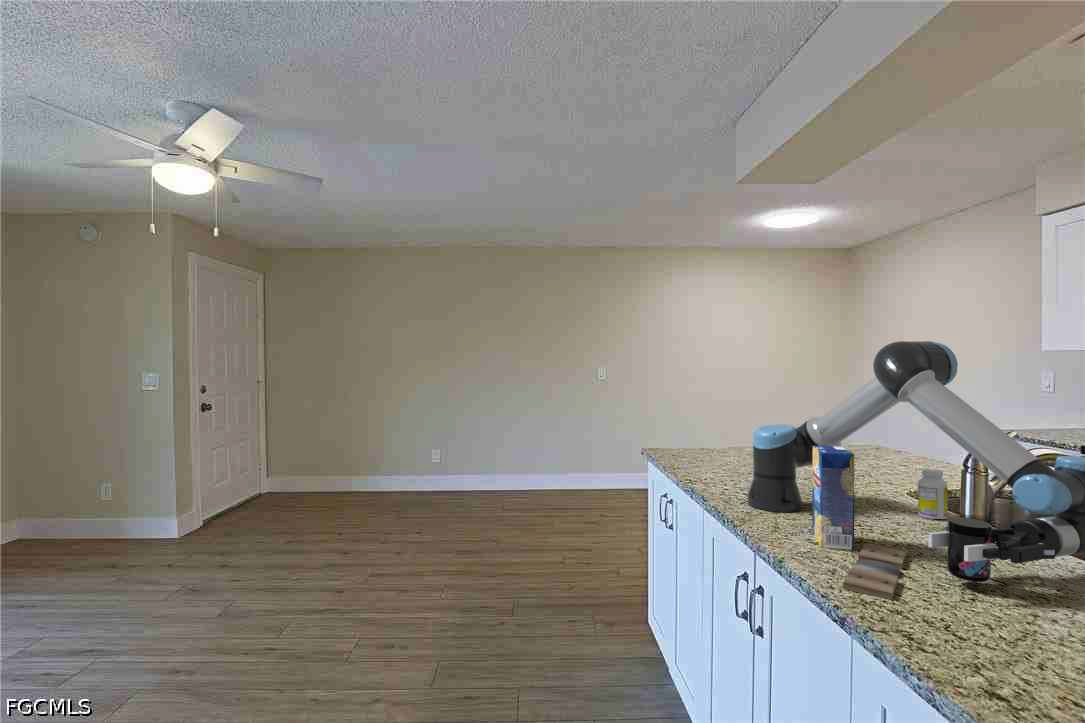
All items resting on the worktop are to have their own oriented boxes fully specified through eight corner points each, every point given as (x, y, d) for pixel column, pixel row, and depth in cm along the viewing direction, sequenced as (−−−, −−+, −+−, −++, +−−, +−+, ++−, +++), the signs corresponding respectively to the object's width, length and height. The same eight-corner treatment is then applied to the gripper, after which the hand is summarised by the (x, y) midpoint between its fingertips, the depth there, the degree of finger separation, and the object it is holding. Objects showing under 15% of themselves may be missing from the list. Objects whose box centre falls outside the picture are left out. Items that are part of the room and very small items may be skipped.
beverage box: (842, 535, 139) (842, 446, 138) (854, 550, 128) (854, 454, 128) (812, 533, 140) (812, 445, 140) (821, 547, 130) (821, 452, 130)
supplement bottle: (938, 514, 156) (938, 468, 156) (953, 521, 150) (953, 473, 150) (912, 513, 157) (913, 467, 157) (926, 520, 151) (926, 472, 150)
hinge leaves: (892, 599, 102) (892, 592, 102) (843, 588, 107) (843, 581, 107) (906, 555, 124) (906, 549, 124) (865, 548, 129) (865, 542, 129)
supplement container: (948, 578, 107) (949, 524, 107) (944, 566, 113) (945, 515, 113) (993, 586, 104) (994, 530, 103) (987, 573, 109) (988, 520, 109)
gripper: (1099, 576, 102) (999, 587, 97) (992, 540, 122) (903, 548, 117) (1100, 535, 102) (1000, 544, 97) (992, 505, 121) (904, 512, 116)
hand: (947, 546), depth 107 cm, fingers closed on supplement container, 7 cm apart
